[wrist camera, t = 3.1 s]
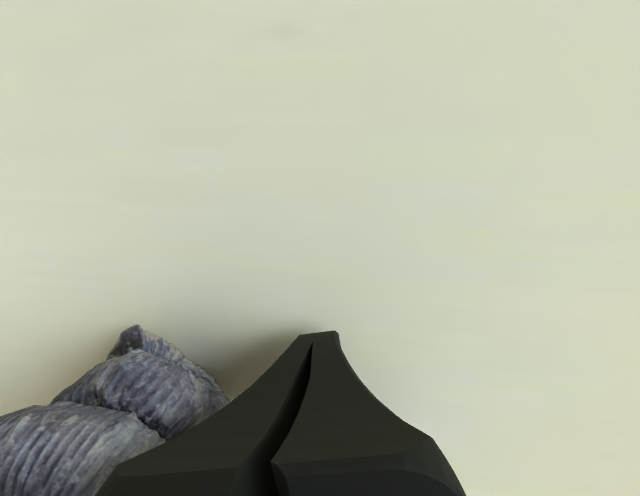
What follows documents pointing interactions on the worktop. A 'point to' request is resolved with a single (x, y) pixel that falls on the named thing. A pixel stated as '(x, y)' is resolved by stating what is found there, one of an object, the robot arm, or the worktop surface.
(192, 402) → the seashell
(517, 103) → the worktop surface
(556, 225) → the worktop surface
